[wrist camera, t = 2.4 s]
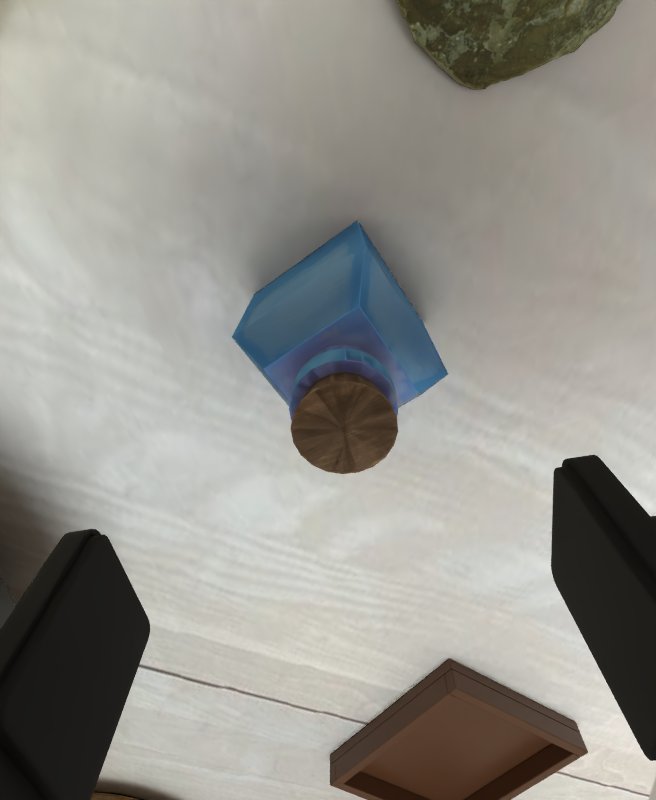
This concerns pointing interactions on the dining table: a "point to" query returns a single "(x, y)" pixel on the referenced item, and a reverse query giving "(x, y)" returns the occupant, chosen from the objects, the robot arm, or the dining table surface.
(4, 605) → the ball
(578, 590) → the robot arm
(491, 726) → the tray
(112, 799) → the planter
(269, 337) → the perfume bottle
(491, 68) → the olive green rounded lump
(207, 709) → the dining table surface
